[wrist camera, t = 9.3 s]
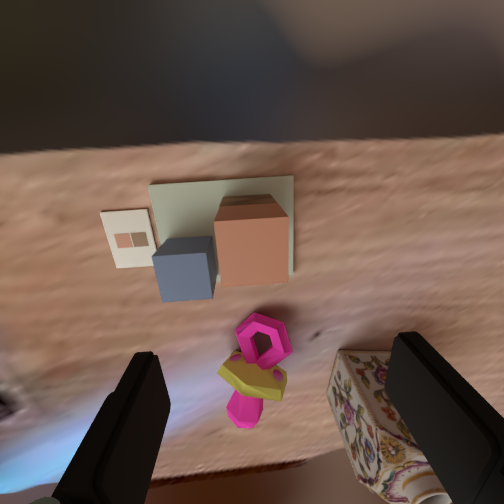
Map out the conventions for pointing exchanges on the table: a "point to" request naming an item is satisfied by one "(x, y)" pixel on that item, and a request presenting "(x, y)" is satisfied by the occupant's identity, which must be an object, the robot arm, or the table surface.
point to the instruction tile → (130, 237)
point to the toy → (255, 370)
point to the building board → (213, 206)
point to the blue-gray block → (185, 269)
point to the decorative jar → (379, 432)
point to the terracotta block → (252, 244)
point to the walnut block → (247, 200)
